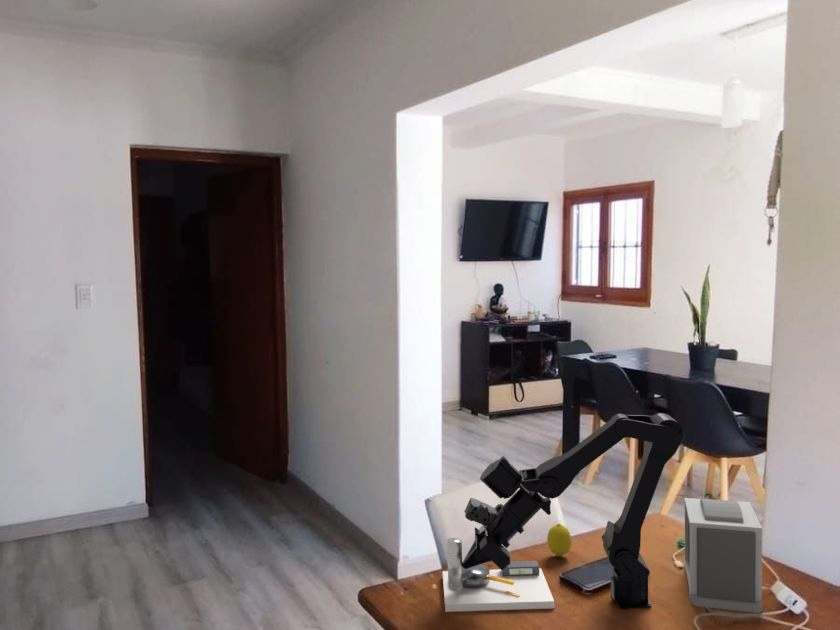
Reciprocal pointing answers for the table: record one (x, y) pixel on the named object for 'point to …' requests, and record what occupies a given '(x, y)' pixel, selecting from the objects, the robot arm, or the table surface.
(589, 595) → the table surface
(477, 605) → the stand
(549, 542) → the lemon
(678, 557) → the table surface
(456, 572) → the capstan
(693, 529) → the alarm clock
